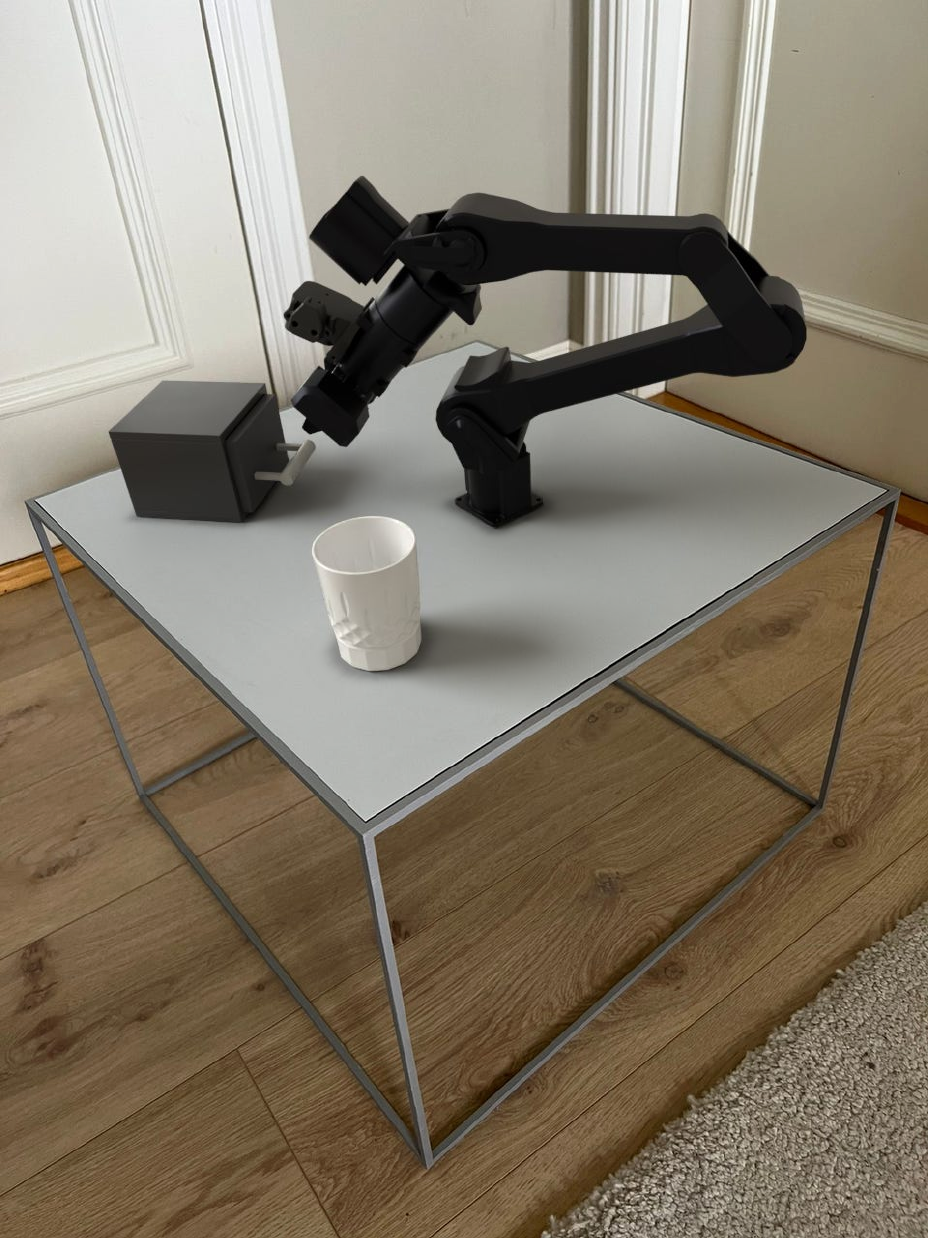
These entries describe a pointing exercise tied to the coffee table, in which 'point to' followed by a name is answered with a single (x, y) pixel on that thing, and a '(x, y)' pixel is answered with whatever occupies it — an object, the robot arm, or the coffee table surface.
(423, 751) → the coffee table surface
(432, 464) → the coffee table surface
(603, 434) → the coffee table surface
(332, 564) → the white cup
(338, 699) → the coffee table surface
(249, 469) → the drawer
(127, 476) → the cabinet
